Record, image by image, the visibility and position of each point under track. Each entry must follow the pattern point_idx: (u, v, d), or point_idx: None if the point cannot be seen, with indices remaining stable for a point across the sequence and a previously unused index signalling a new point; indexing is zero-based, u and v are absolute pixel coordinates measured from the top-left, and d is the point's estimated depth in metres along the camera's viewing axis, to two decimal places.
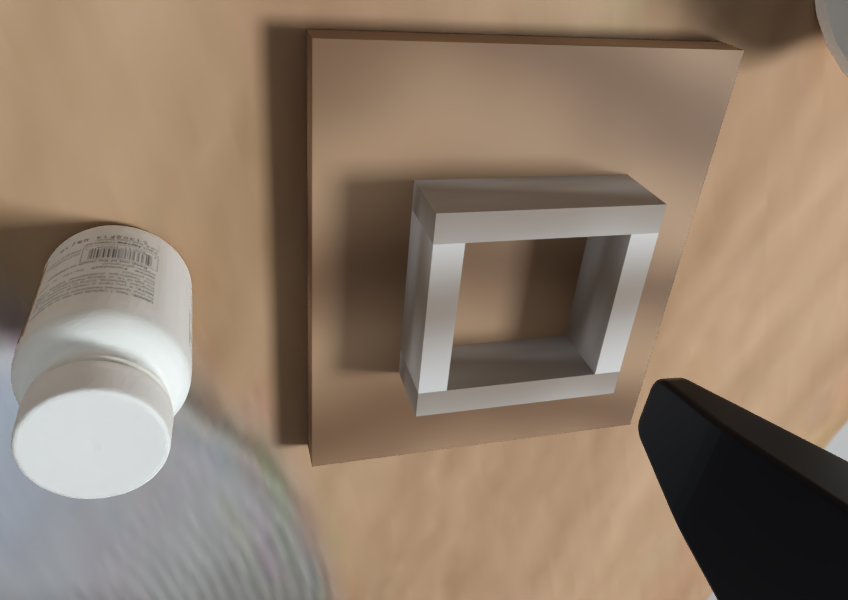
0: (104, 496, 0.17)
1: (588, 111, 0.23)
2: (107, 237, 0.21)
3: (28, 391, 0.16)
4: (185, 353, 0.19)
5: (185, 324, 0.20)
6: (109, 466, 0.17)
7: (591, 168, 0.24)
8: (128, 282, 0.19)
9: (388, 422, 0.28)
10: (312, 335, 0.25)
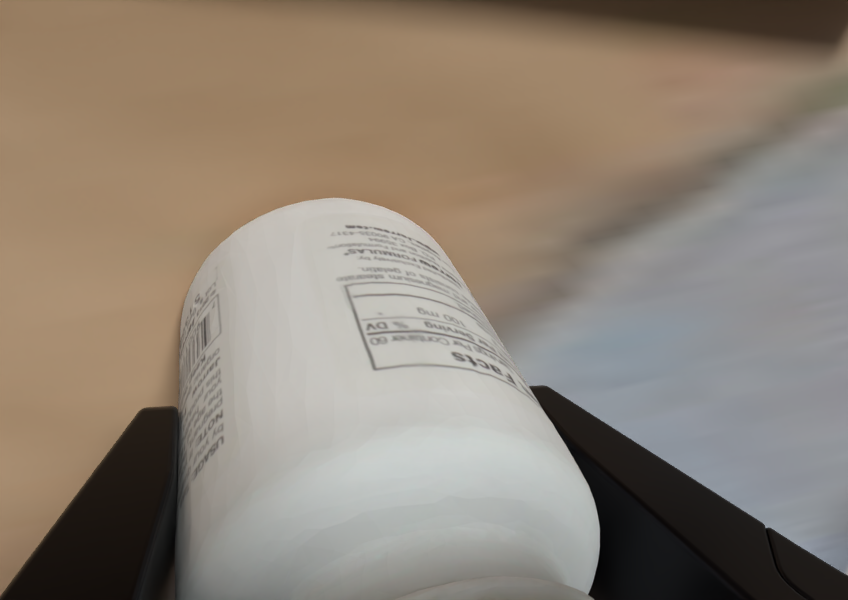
0: None
1: None
2: (179, 363, 0.10)
3: None
4: (364, 432, 0.06)
5: (332, 344, 0.07)
6: None
7: None
8: (188, 444, 0.07)
9: None
10: None
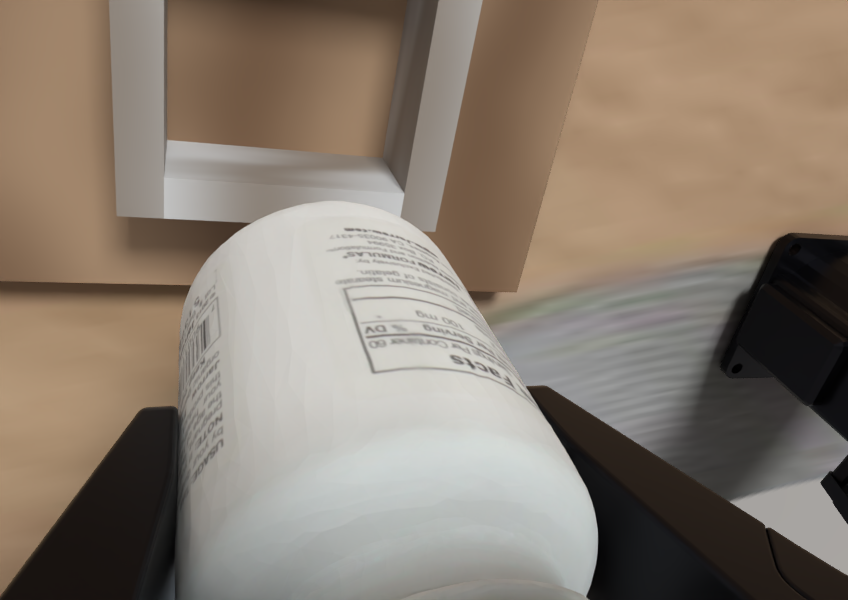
0: None
1: None
2: (179, 365, 0.10)
3: None
4: (363, 435, 0.06)
5: (331, 348, 0.07)
6: None
7: None
8: (187, 447, 0.08)
9: (485, 206, 0.21)
10: None
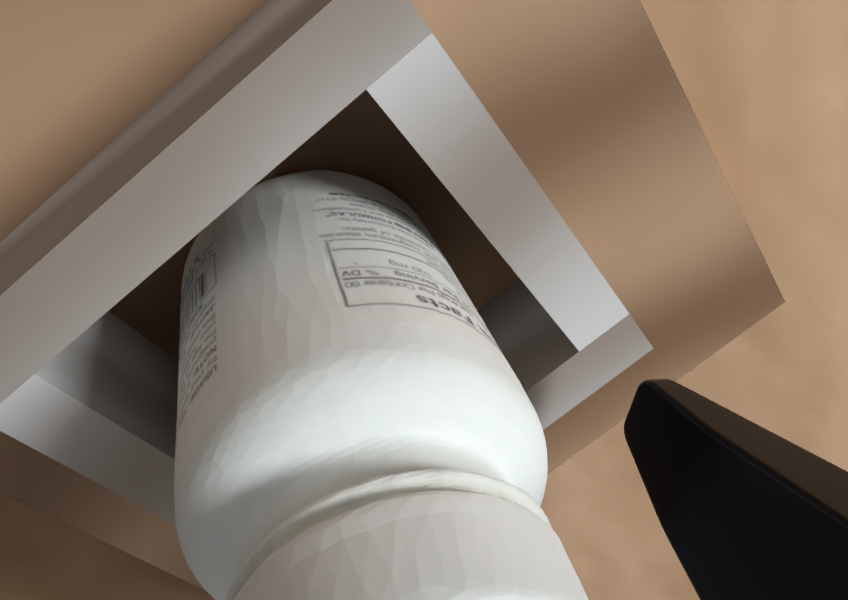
0: None
1: None
2: (180, 318, 0.11)
3: None
4: (335, 354, 0.07)
5: (311, 288, 0.08)
6: None
7: None
8: (187, 378, 0.09)
9: None
10: (115, 543, 0.14)
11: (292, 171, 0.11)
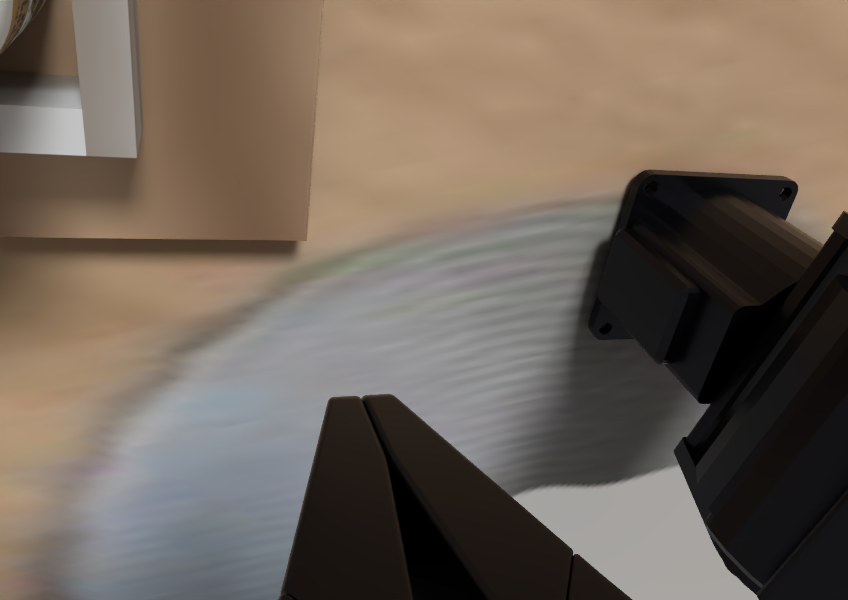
0: None
1: None
2: None
3: None
4: None
5: None
6: None
7: None
8: None
9: (243, 137, 0.18)
10: (70, 236, 0.19)
11: None
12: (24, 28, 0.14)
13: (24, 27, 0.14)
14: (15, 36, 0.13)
